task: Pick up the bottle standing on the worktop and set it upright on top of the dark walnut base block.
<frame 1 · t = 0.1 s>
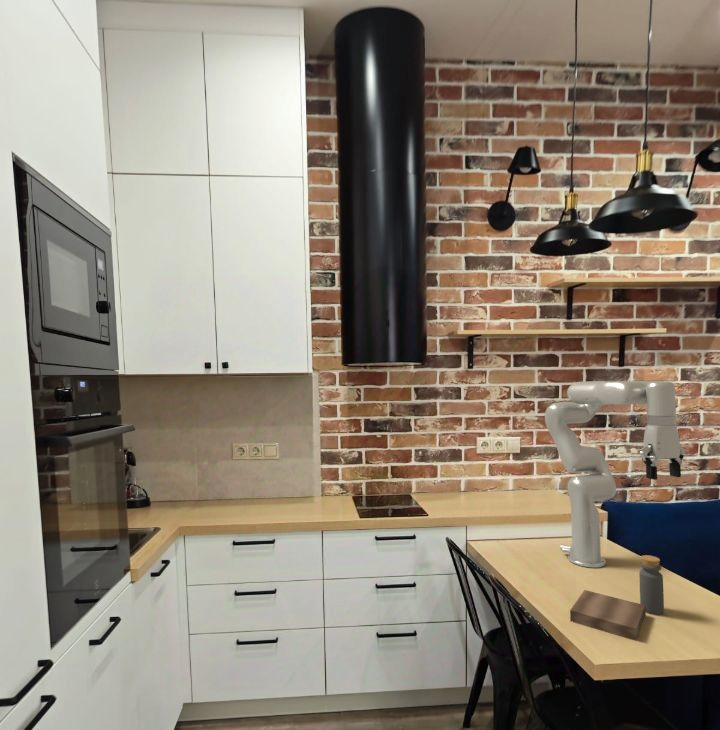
hand: (663, 477, 142), 37 cm above the table, tool pointing down, fingers open, 9 cm apart
bottle: (652, 610, 135), on the table
base: (608, 618, 130), on the table
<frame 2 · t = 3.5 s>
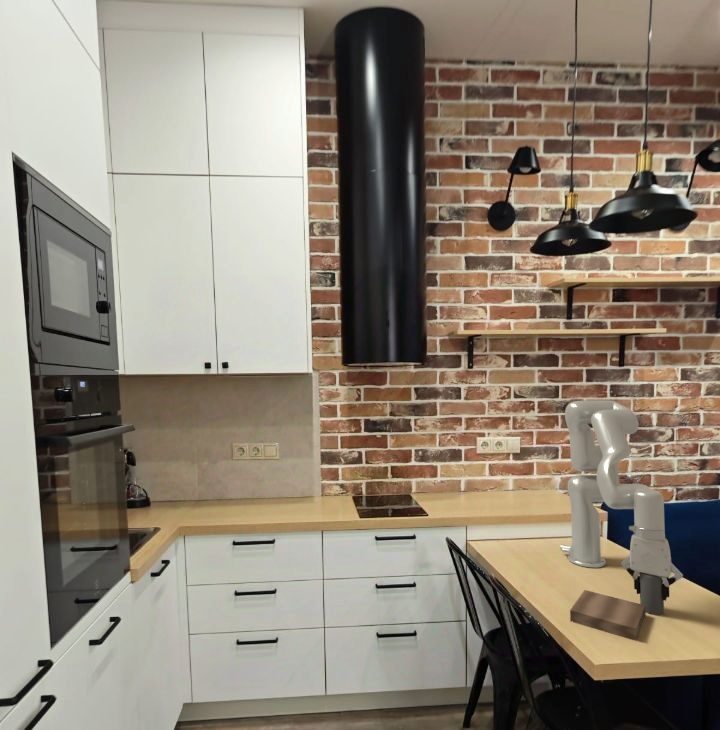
hand: (651, 594, 135), 4 cm above the table, tool pointing down, fingers closed on bottle, 5 cm apart
bottle: (652, 610, 135), on the table, touching gripper
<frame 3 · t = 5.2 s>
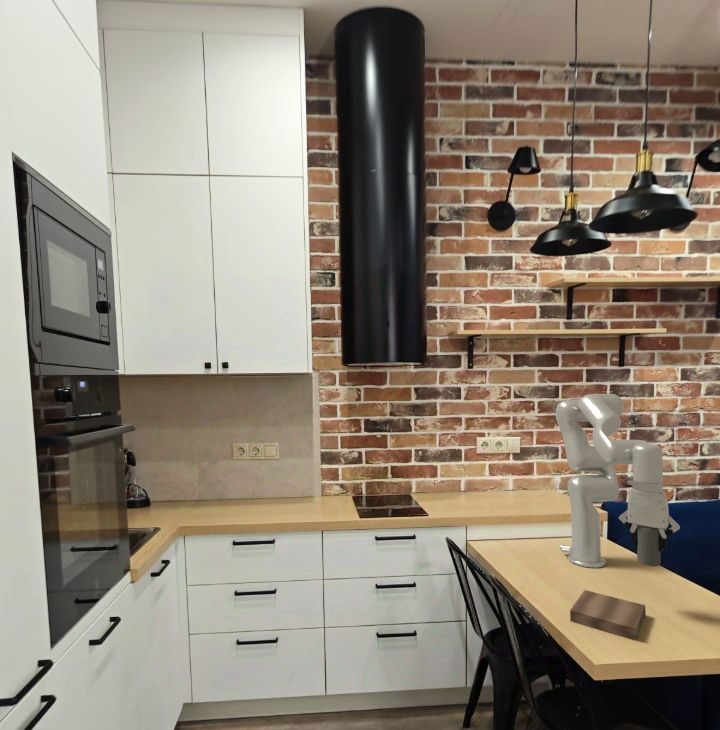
hand: (648, 547, 136), 18 cm above the table, tool pointing down, fingers closed on bottle, 5 cm apart
bottle: (648, 563, 136), point 13 cm above the table, touching gripper
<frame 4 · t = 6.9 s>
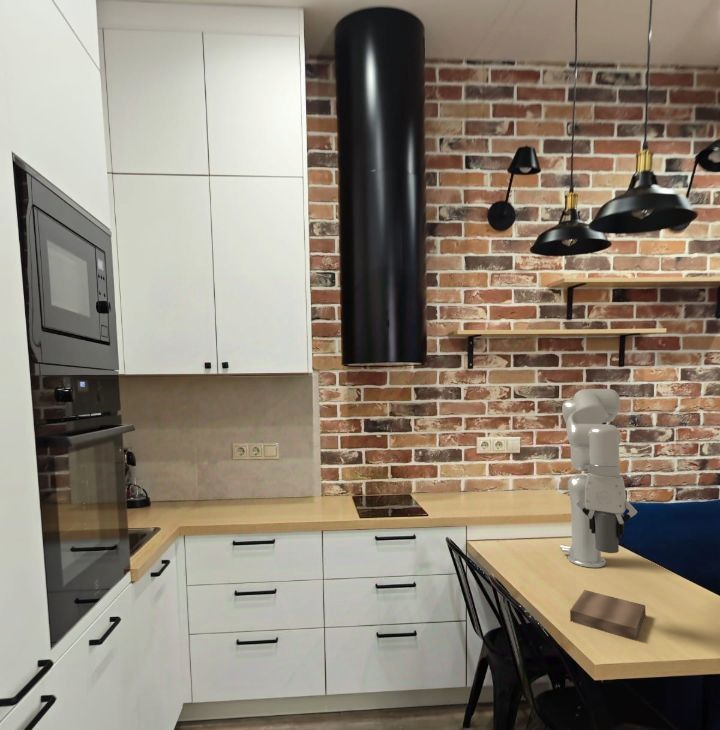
hand: (606, 534, 132), 23 cm above the table, tool pointing down, fingers closed on bottle, 5 cm apart
bottle: (607, 550, 131), point 19 cm above the table, touching gripper
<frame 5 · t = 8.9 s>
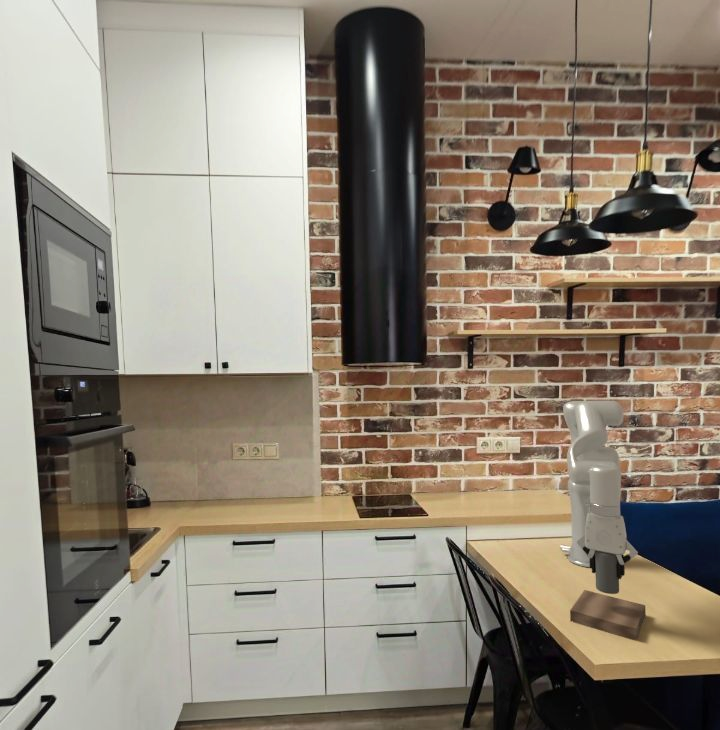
hand: (607, 573, 131), 12 cm above the table, tool pointing down, fingers closed on bottle, 5 cm apart
bottle: (607, 590, 131), point 8 cm above the table, touching gripper
when the fingers open (9 cm above the table, at t = 10.5 s): bottle drops 1 cm, resting on base.
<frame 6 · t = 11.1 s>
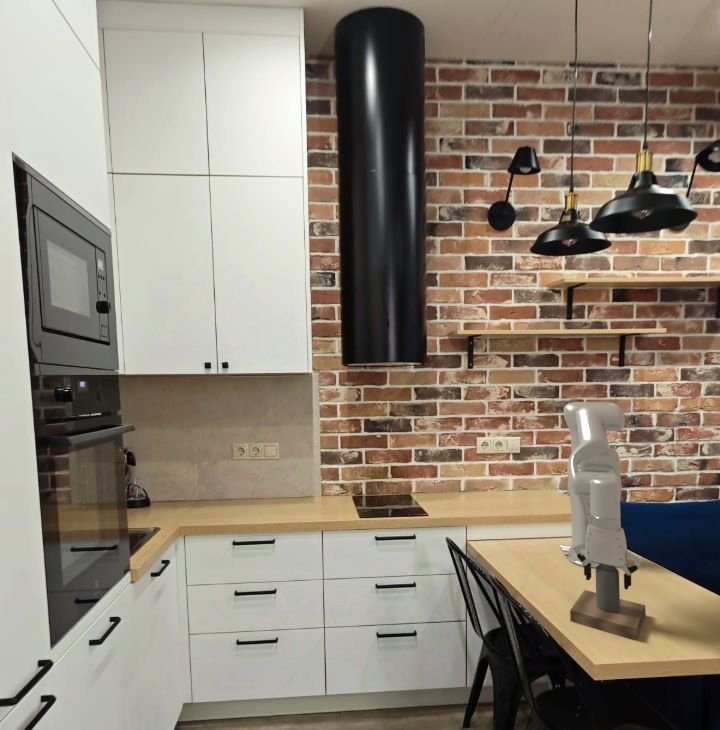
hand: (607, 583, 131), 10 cm above the table, tool pointing down, fingers open, 9 cm apart
bottle: (608, 608, 131), point 3 cm above the table, touching base
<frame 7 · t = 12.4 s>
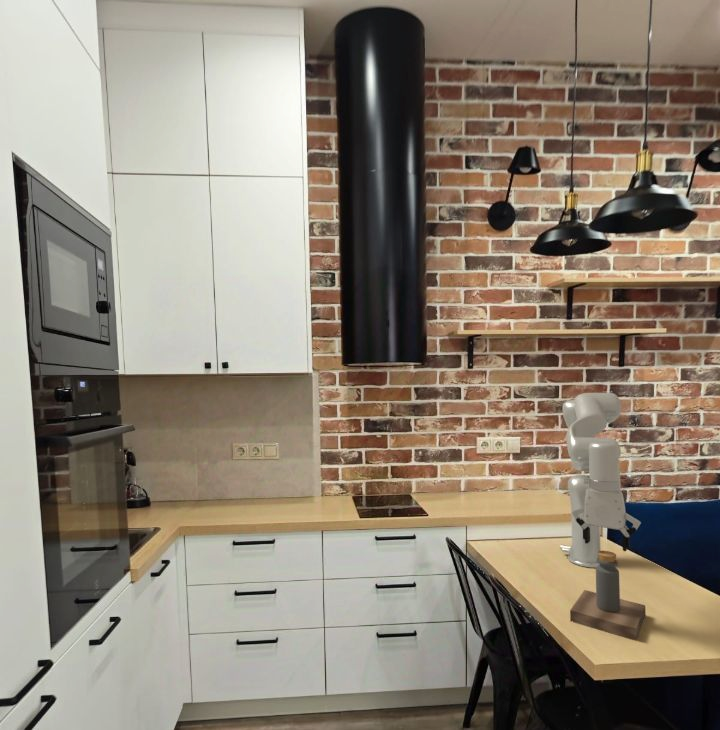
hand: (605, 545, 132), 20 cm above the table, tool pointing down, fingers open, 9 cm apart
nothing on the table moved.
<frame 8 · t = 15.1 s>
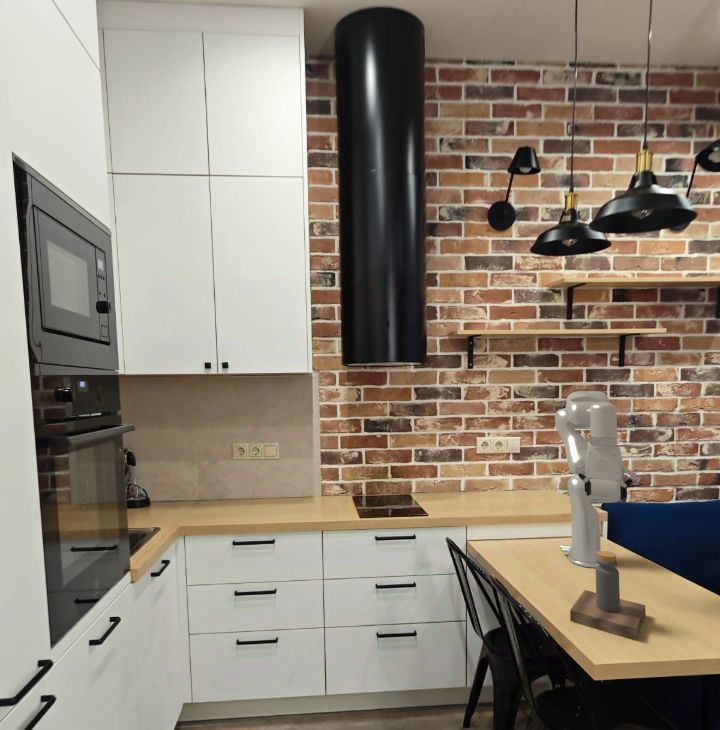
hand: (605, 497, 146), 30 cm above the table, tool pointing down, fingers open, 9 cm apart
nothing on the table moved.
at the end: bottle inside the target area on the base (0.2 cm from its centre), point 2.8 cm above the base's base; bottle tilted 0°; bottle touching base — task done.
